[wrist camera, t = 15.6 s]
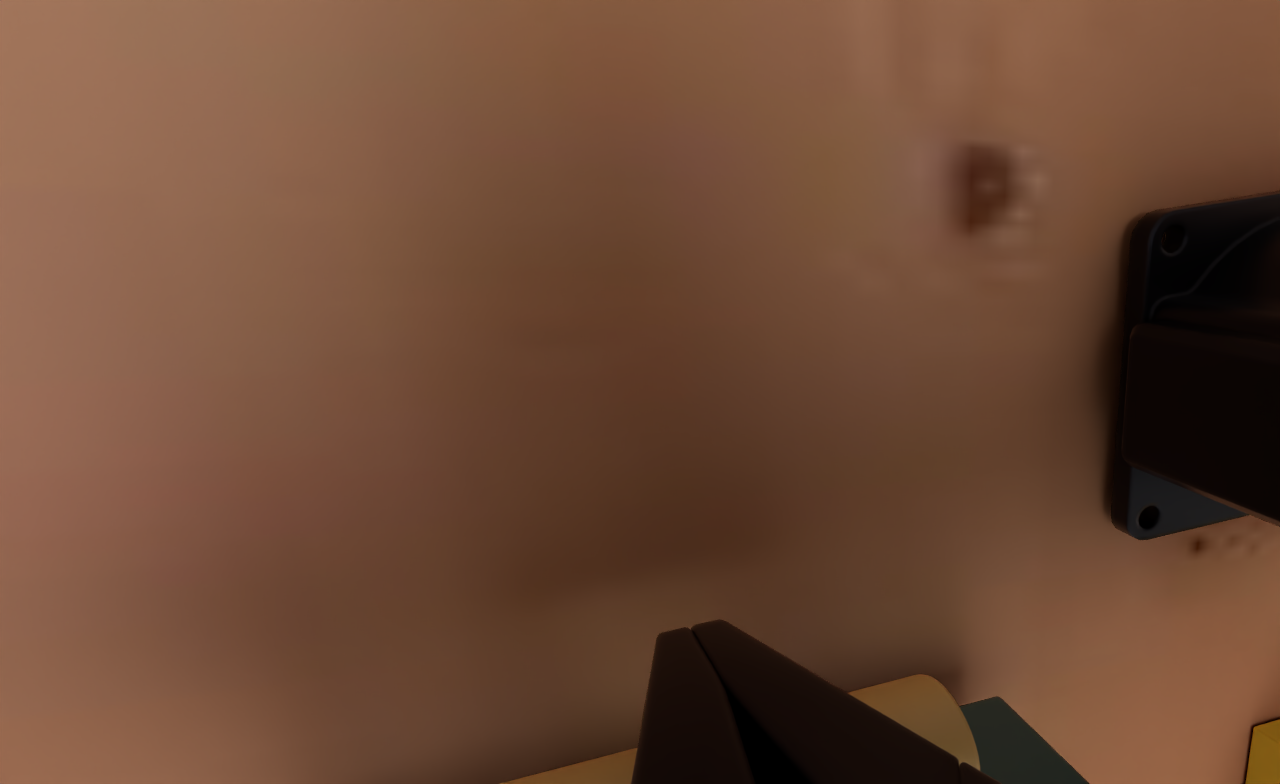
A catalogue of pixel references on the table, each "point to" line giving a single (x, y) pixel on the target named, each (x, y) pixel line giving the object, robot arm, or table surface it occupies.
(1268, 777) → the sponge
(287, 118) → the table surface
